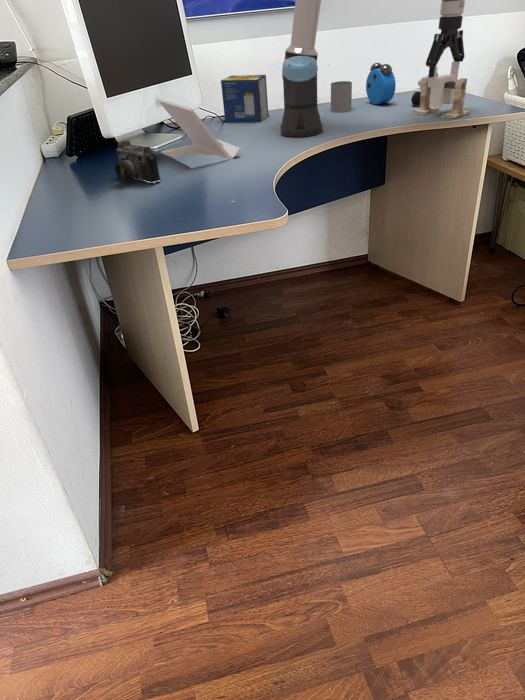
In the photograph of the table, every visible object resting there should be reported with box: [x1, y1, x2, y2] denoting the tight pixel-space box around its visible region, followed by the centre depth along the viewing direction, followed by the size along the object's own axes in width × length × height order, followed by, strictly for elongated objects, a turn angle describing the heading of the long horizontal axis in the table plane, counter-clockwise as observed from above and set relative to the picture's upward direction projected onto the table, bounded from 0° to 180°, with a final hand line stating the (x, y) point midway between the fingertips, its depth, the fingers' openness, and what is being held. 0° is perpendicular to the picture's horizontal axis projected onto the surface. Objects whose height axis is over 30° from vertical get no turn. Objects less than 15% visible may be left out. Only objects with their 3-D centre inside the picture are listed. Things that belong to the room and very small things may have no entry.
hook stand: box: [411, 75, 471, 119], centre depth 193 cm, size 10×18×12 cm, turn 41°
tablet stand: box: [158, 98, 242, 159], centre depth 169 cm, size 18×25×17 cm
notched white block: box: [429, 74, 456, 109], centre depth 192 cm, size 9×4×10 cm, turn 131°
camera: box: [114, 140, 161, 183], centre depth 152 cm, size 18×9×10 cm, turn 45°
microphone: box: [410, 91, 421, 107], centre depth 215 cm, size 6×6×20 cm
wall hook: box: [413, 72, 440, 94], centre depth 223 cm, size 9×10×10 cm
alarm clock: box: [365, 62, 397, 105], centre depth 215 cm, size 13×6×15 cm, turn 24°
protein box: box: [220, 74, 269, 123], centre depth 209 cm, size 10×15×16 cm
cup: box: [330, 80, 353, 113], centre depth 212 cm, size 8×8×10 cm
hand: (442, 84), depth 191 cm, fingers open, 13 cm apart
